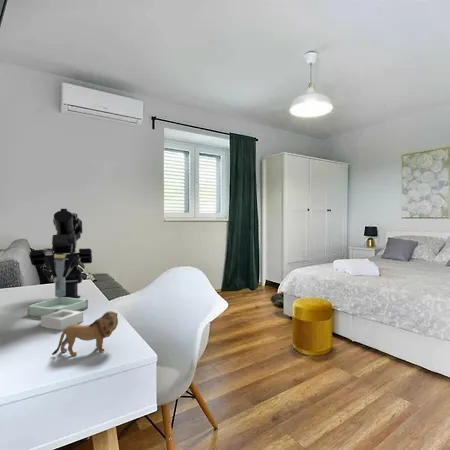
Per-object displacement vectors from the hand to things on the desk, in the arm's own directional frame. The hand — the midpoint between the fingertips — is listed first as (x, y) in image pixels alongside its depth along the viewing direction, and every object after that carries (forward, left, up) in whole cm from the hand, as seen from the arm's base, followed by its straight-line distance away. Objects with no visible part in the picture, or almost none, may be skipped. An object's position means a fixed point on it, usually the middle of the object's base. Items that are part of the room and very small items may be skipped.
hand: (59, 277), depth 97 cm
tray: (-4, -5, -13) cm, 15 cm away
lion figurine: (+16, +28, -13) cm, 35 cm away
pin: (-1, -1, -7) cm, 7 cm away
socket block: (+5, +7, -13) cm, 16 cm away
